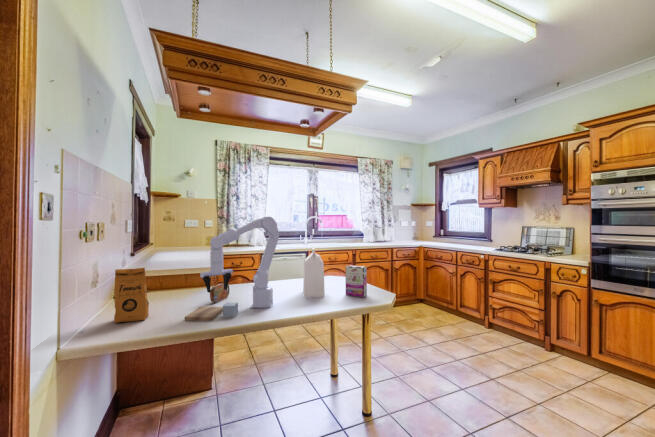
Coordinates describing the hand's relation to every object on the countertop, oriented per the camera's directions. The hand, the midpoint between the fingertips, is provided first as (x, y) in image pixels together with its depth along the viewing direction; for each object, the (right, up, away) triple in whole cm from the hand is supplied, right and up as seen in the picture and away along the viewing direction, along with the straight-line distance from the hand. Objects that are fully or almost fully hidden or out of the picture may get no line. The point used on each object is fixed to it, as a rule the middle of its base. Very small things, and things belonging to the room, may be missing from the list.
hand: (217, 290), depth 135 cm
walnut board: (-2, -9, -7) cm, 12 cm away
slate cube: (+9, -9, -7) cm, 14 cm away
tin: (-5, -10, +17) cm, 20 cm away
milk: (+44, -9, +29) cm, 53 cm away
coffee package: (-31, -9, -13) cm, 35 cm away
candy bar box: (+68, -9, +25) cm, 73 cm away
